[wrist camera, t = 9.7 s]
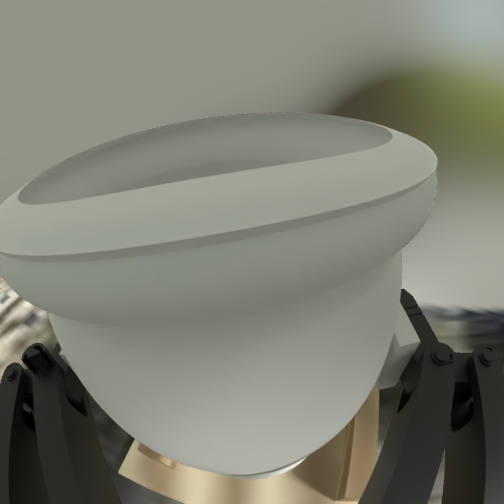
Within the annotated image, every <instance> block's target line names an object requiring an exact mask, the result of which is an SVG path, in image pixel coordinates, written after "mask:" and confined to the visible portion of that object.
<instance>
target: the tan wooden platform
mask: <svg viewBox="0 0 504 504" xmlns="http://www.w3.org/2000/svg"><path fill="white" fill-rule="evenodd" d="M378 426H379V390H377V387H376V384H375V385H374V386H373V388H372V390H371V392H370V394H369V395H368V397H367V399H366V400H365V402H364V403H363V405H362V406H361V408H360V409H359V410H358V412H357V413H356V414H355V415H354V417H353V418H352V419H351V420H350V421H349V423H348V424H347V425H346V426H345V427H344V428H343V429H342V430H341V431H340V432H339V433H338V434H337V435H336V436H335V437H334V438H332V439H331V440H330V441H329V442H328V443H326V444H325V445H324V446H322V447H321V448H320V449H318V450H317V451H315V452H314V453H312V454H310V455H309V456H307V457H306V458H305V459H304V460H303V461H302V462H301V463H300V464H298V465H297V466H295V467H294V468H292V469H291V470H289V471H287V472H285V473H282V474H280V475H277V476H274V477H270V478H265V479H257V480H244V479H236V478H231V477H227V476H224V475H221V474H219V473H213V472H207V471H203V470H199V469H195V468H192V467H189V466H186V465H183V464H180V463H178V462H175V461H173V460H171V459H169V458H166V457H164V456H162V455H160V454H159V453H157V452H155V451H153V450H152V449H150V448H148V447H147V446H145V445H144V444H142V443H141V442H139V441H138V440H136V439H135V440H134V442H133V444H132V446H131V448H130V450H129V452H128V454H127V456H126V458H125V460H124V462H123V464H122V466H121V468H120V470H119V472H118V473H119V474H121V475H123V476H125V477H127V478H128V479H130V480H132V481H134V482H136V483H138V484H140V485H142V486H144V487H147V488H149V489H151V490H153V491H155V492H158V493H160V494H162V495H165V496H167V497H169V498H172V499H174V500H177V501H180V502H182V503H185V504H358V502H359V500H360V498H361V496H362V494H363V492H364V490H365V488H366V486H367V483H368V481H369V479H370V477H371V474H372V472H373V470H374V467H375V465H376V458H377V445H378Z"/></svg>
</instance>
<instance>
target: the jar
mask: <svg viewBox="0 0 504 504" xmlns="http://www.w3.org/2000/svg"><path fill="white" fill-rule="evenodd" d="M436 167H437V157H436V155H435V153H434V152H433V151H432V150H431V149H430V148H429V147H428V146H427V145H425V144H424V143H422V142H421V141H419V140H417V139H415V138H413V137H411V136H409V135H406V134H404V133H401V132H399V131H396V130H393V129H390V128H387V127H385V126H381V125H378V124H375V123H371V122H366V121H362V120H358V119H352V118H346V117H339V116H332V115H323V114H310V113H252V114H239V115H227V116H219V117H211V118H204V119H198V120H191V121H186V122H180V123H175V124H170V125H166V126H161V127H157V128H153V129H149V130H145V131H142V132H138V133H135V134H131V135H128V136H124V137H122V138H118V139H115V140H112V141H109V142H107V143H104V144H101V145H98V146H96V147H93V148H91V149H89V150H86V151H84V152H81V153H79V154H77V155H75V156H73V157H71V158H68V159H66V160H64V161H63V162H60V163H59V164H57V165H55V166H53V167H51V168H50V169H48V170H46V171H45V172H43V173H41V174H40V175H38V176H37V177H35V178H34V179H32V180H31V181H29V182H28V183H27V184H25V185H24V186H23V187H21V188H20V189H19V190H18V191H16V192H15V193H14V194H12V195H11V196H10V197H9V198H8V199H7V200H5V201H4V202H3V203H2V204H1V206H0V274H1V276H2V277H3V279H4V280H5V281H6V283H7V284H8V285H9V286H10V287H11V288H12V289H13V290H14V291H15V292H16V293H17V294H18V295H19V296H20V297H22V298H23V299H25V300H26V301H28V302H29V303H31V304H33V305H35V306H37V307H39V308H41V309H43V310H45V311H47V313H48V317H49V320H50V323H51V325H52V328H53V331H54V333H55V336H56V338H57V340H58V342H59V345H60V347H61V349H62V351H63V353H64V354H65V356H66V358H67V360H68V362H69V364H70V365H71V367H72V369H73V370H74V372H75V373H76V375H77V376H78V378H79V379H80V381H81V382H82V384H83V385H84V387H85V388H86V389H87V391H88V392H89V393H90V395H91V396H92V397H93V398H94V400H95V401H96V402H97V403H98V404H99V406H100V407H101V408H102V409H103V410H104V411H105V412H106V413H107V414H108V415H109V416H110V417H111V418H112V419H113V420H114V421H115V422H116V423H117V424H118V425H119V426H120V427H121V428H122V429H124V430H125V431H126V432H127V433H128V434H130V435H131V436H132V437H134V438H135V439H136V440H138V441H139V442H141V443H142V444H144V445H145V446H147V447H148V448H150V449H152V450H153V451H155V452H157V453H159V454H160V455H162V456H164V457H166V458H169V459H171V460H173V461H175V462H178V463H180V464H183V465H186V466H189V467H192V468H195V469H199V470H203V471H207V472H213V473H219V474H221V475H224V476H227V477H231V478H236V479H244V480H257V479H265V478H270V477H274V476H277V475H280V474H282V473H285V472H287V471H289V470H291V469H292V468H294V467H295V466H297V465H298V464H300V463H301V462H302V461H303V460H304V459H305V458H306V457H307V456H309V455H310V454H312V453H314V452H315V451H317V450H318V449H320V448H321V447H322V446H324V445H325V444H326V443H328V442H329V441H330V440H331V439H332V438H334V437H335V436H336V435H337V434H338V433H339V432H340V431H341V430H342V429H343V428H344V427H345V426H346V425H347V424H348V423H349V421H350V420H351V419H352V418H353V417H354V415H355V414H356V413H357V412H358V410H359V409H360V408H361V406H362V405H363V403H364V402H365V400H366V399H367V397H368V395H369V394H370V392H371V390H372V388H373V386H374V385H375V383H376V381H377V379H378V376H379V374H380V372H381V370H382V367H383V365H384V362H385V360H386V357H387V354H388V351H389V348H390V345H391V341H392V338H393V334H394V330H395V325H396V321H397V315H398V310H399V303H400V295H401V285H402V254H401V249H402V248H404V247H405V246H406V245H407V244H408V243H409V242H410V241H411V240H412V239H413V238H414V237H415V236H416V235H417V233H418V232H419V231H420V230H421V228H422V227H423V225H424V224H425V222H426V221H427V219H428V218H429V216H430V214H431V211H432V209H433V207H434V203H435V200H436V193H437V174H436V170H435V169H436Z"/></svg>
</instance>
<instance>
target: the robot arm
mask: <svg viewBox="0 0 504 504" xmlns="http://www.w3.org/2000/svg"><path fill="white" fill-rule="evenodd" d="M21 360H22V361H23V363H24V364H25V365H26V366H27V367H28V368H29V369H26V370H24V369H23V367H22V366H21V365H20V364H19V363H15V362H14V363H11V364H10V365H9V366H7V368H6V369H5V371H4V373H3V376H2V380H1V384H0V504H122V503H121V501H120V499H119V496H118V494H117V492H116V489H115V487H114V484H113V482H112V479H111V476H110V474H109V471H108V468H107V465H106V462H105V459H104V456H103V453H102V450H101V447H100V443H99V440H98V436H97V433H96V429H95V425H94V421H93V417H92V413H91V408H90V404H89V399H88V397H87V395H86V394H85V390H86V388H85V387H84V385H83V384H82V382H81V381H80V379H79V378H78V376H77V375H76V373H75V372H74V370H73V369H72V367H71V365H70V364H69V362H68V360H67V358H66V356H65V354H64V353H63V351H62V349H61V347H60V345H59V342H58V343H57V345H56V347H55V349H54V351H53V353H52V355H51V354H50V353H49V352H48V350H47V349H46V348H45V346H44V345H43V344H41V343H35V344H32V345H31V346H29V347H28V348H27V349H26V350H25V352H24V353H23V355H22V359H21ZM399 379H401V382H402V385H403V387H402V388H401V389H400V391H399V392H398V394H397V395H396V397H395V399H394V401H397V399H398V401H397V404H396V408H395V411H394V415H393V418H392V421H391V424H390V427H389V430H388V433H387V436H386V439H385V442H384V444H383V447H382V450H381V452H380V455H379V458H378V460H377V463H376V465H375V467H374V470H373V472H372V474H371V477H370V479H369V481H368V483H367V486H366V488H365V490H364V492H363V494H362V496H361V498H360V500H359V502H358V504H427V502H428V500H429V497H430V494H431V491H432V489H433V486H434V483H435V479H436V476H437V473H438V469H439V466H440V462H441V458H442V455H443V451H444V446H445V442H446V450H445V474H444V486H443V496H442V504H504V375H503V371H502V367H501V363H500V359H499V356H498V354H497V352H496V351H495V350H494V349H493V348H492V347H491V346H489V345H486V344H481V345H478V346H477V347H476V348H475V349H474V350H473V352H472V353H456V352H454V351H453V350H452V349H451V348H450V347H449V346H448V345H446V344H444V343H440V342H439V341H438V340H437V338H436V336H435V334H434V332H433V331H432V329H431V327H430V325H429V323H428V322H427V320H426V318H425V316H424V315H423V314H422V311H421V309H420V308H419V307H418V304H417V303H416V301H415V299H414V298H413V296H412V295H411V294H409V293H408V292H407V291H406V290H405V289H401V295H400V303H399V310H398V315H397V321H396V325H395V330H394V334H393V338H392V341H391V345H390V348H389V351H388V354H387V357H386V360H385V362H384V365H383V367H382V370H381V372H380V374H379V376H378V379H377V381H376V383H375V384H376V387H377V390H381V389H385V388H389V387H393V386H395V385H396V384H397V382H398V381H399ZM23 403H24V404H26V405H27V406H28V407H29V411H28V412H26V411H25V410H24V409H23Z"/></svg>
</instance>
